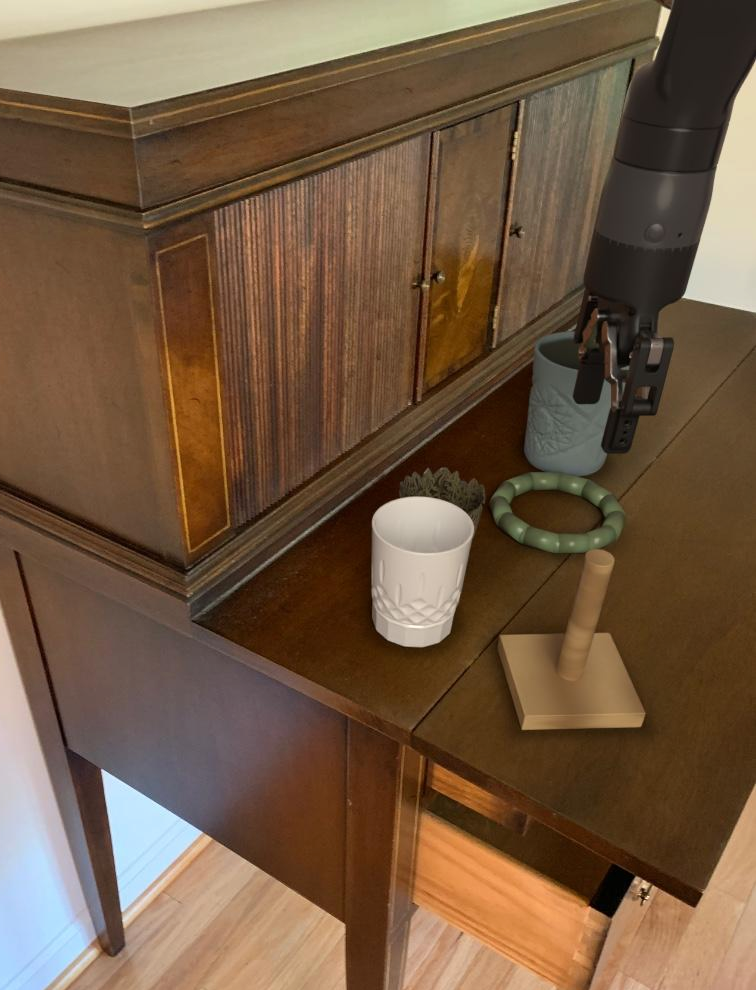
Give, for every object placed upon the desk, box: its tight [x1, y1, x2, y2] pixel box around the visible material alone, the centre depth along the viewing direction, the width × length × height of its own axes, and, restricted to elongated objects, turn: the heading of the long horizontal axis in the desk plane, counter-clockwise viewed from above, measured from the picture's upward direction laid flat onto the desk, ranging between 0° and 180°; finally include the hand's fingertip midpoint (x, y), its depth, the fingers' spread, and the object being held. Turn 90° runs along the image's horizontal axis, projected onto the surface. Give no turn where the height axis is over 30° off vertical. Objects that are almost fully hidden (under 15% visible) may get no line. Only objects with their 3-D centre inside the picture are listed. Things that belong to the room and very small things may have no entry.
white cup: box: [370, 497, 474, 648], centre depth 74 cm, size 8×8×10 cm
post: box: [497, 549, 647, 731], centre depth 68 cm, size 9×9×12 cm
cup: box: [398, 466, 487, 541], centre depth 81 cm, size 8×7×8 cm
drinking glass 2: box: [523, 330, 629, 477], centre depth 95 cm, size 10×10×12 cm
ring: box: [489, 471, 627, 554], centre depth 89 cm, size 13×13×2 cm
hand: (598, 425), depth 77 cm, fingers open, 8 cm apart
